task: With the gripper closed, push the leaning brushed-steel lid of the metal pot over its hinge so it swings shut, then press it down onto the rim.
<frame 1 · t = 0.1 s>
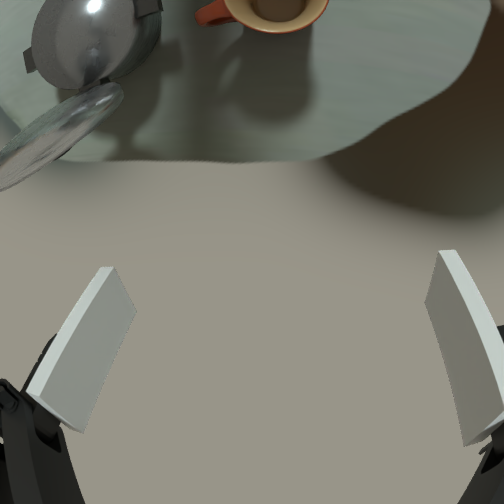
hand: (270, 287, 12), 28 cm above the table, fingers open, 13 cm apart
mug: (265, 10, 26), on the table
pot: (111, 29, 28), on the table
lid: (54, 137, 22), point 15 cm above the table, hinge at 105.0°
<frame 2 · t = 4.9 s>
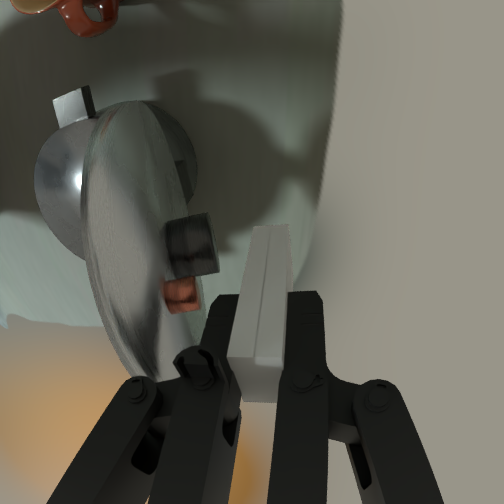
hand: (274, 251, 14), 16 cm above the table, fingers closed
pot: (132, 167, 29), on the table
lid: (184, 246, 15), point 15 cm above the table, hinge at 104.8°, touching gripper
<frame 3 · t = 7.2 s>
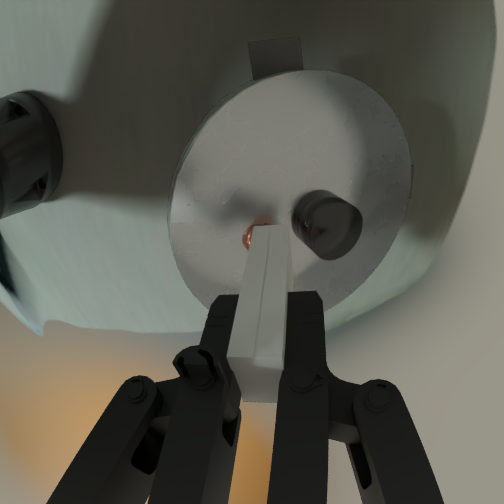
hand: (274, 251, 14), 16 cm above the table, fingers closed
pot: (290, 146, 27), on the table
lid: (325, 219, 16), point 13 cm above the table, hinge at 29.6°, touching gripper
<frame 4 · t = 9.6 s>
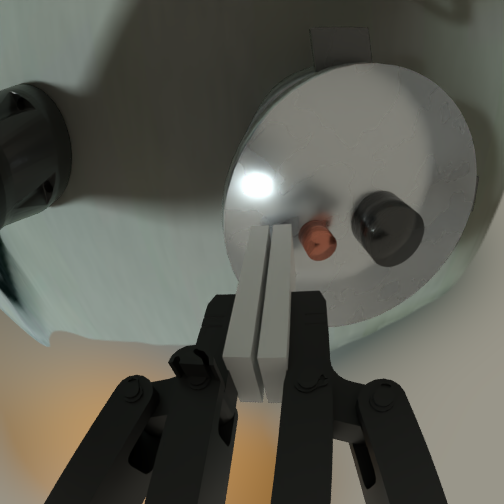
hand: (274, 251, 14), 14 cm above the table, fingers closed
pot: (335, 147, 24), on the table
lid: (386, 222, 14), point 12 cm above the table, hinge at 17.3°, touching gripper
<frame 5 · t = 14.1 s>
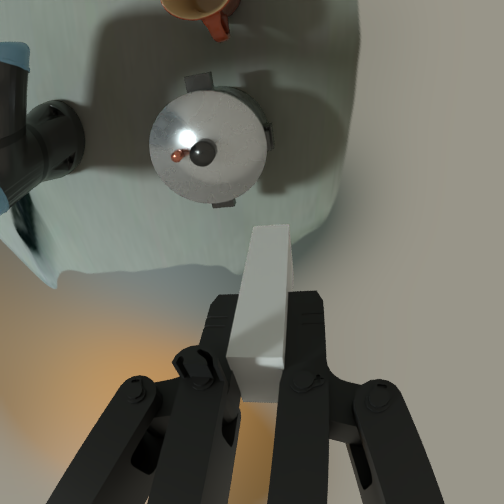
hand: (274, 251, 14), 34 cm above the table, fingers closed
mug: (220, 9, 33), on the table
pot: (221, 130, 44), on the table
lid: (206, 150, 36), point 10 cm above the table, hinge at 1.3°
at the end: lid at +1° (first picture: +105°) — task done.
